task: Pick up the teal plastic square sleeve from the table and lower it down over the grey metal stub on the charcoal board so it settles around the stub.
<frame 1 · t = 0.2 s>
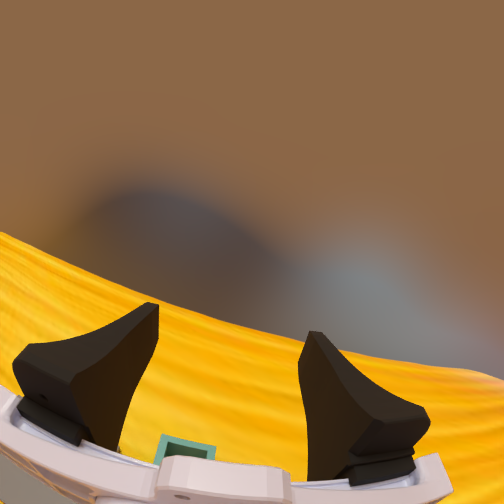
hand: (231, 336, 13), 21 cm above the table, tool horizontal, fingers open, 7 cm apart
stub board: (41, 468, 14), on the table
sleeve: (180, 483, 19), on the table
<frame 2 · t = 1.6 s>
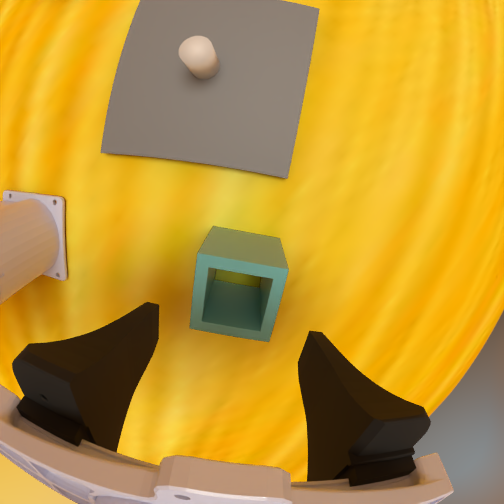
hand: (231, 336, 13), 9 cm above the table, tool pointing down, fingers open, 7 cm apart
stub board: (207, 70, 17), on the table
sleeve: (240, 263, 21), on the table
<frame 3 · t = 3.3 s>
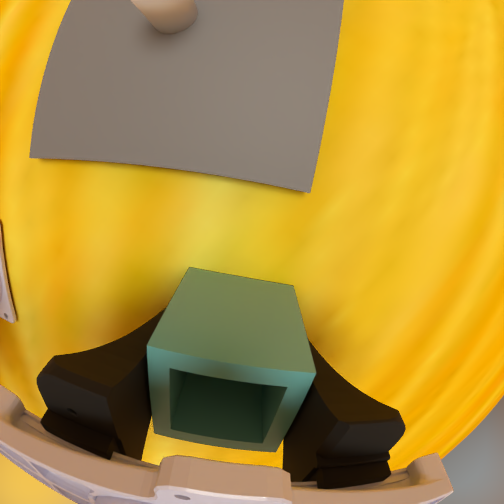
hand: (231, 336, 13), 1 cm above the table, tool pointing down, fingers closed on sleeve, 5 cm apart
stub board: (180, 24, 9), on the table
sleeve: (233, 320, 14), on the table, touching gripper
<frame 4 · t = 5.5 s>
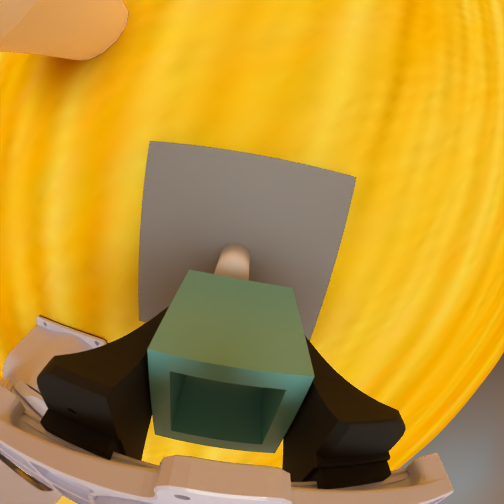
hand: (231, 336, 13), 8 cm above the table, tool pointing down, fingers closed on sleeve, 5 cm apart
foam cup: (96, 29, 14), on the table
stub board: (236, 251, 20), on the table
sleeve: (232, 322, 14), point 7 cm above the table, touching gripper
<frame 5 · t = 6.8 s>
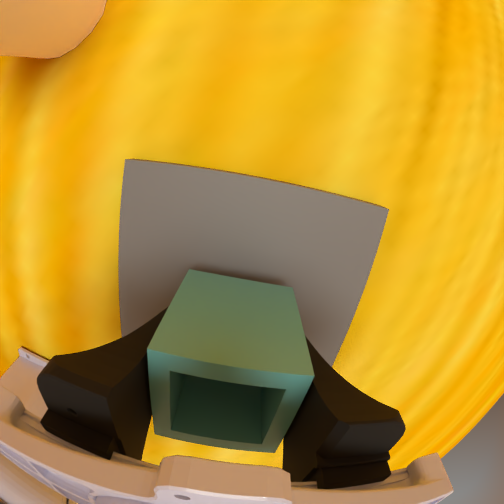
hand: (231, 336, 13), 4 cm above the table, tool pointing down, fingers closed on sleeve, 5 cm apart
foam cup: (70, 21, 10), on the table
stub board: (236, 297, 16), on the table
sleeve: (232, 321, 14), point 2 cm above the table, touching gripper
when the fingers open (4 cm above the table, at t = 7.9 s): sleeve drops 1 cm, resting on stub board.
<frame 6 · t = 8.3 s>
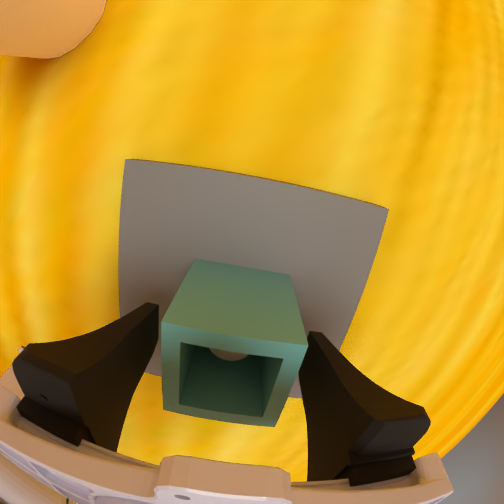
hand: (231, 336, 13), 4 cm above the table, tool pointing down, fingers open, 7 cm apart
foam cup: (70, 21, 10), on the table
stub board: (236, 297, 16), on the table
sleeve: (235, 307, 15), point 1 cm above the table, touching stub board
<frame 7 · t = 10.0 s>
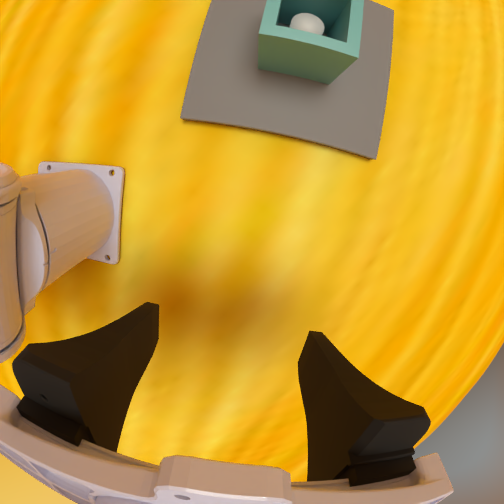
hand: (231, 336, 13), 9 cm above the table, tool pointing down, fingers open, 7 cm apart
stub board: (297, 50, 16), on the table
sleeve: (299, 46, 15), point 1 cm above the table, touching stub board
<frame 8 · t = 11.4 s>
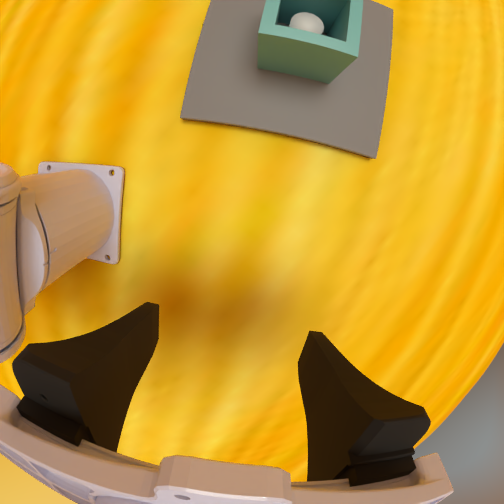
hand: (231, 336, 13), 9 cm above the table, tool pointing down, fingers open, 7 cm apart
stub board: (297, 49, 16), on the table
sleeve: (299, 46, 15), point 1 cm above the table, touching stub board
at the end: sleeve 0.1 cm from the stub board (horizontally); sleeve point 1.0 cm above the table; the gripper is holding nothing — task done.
